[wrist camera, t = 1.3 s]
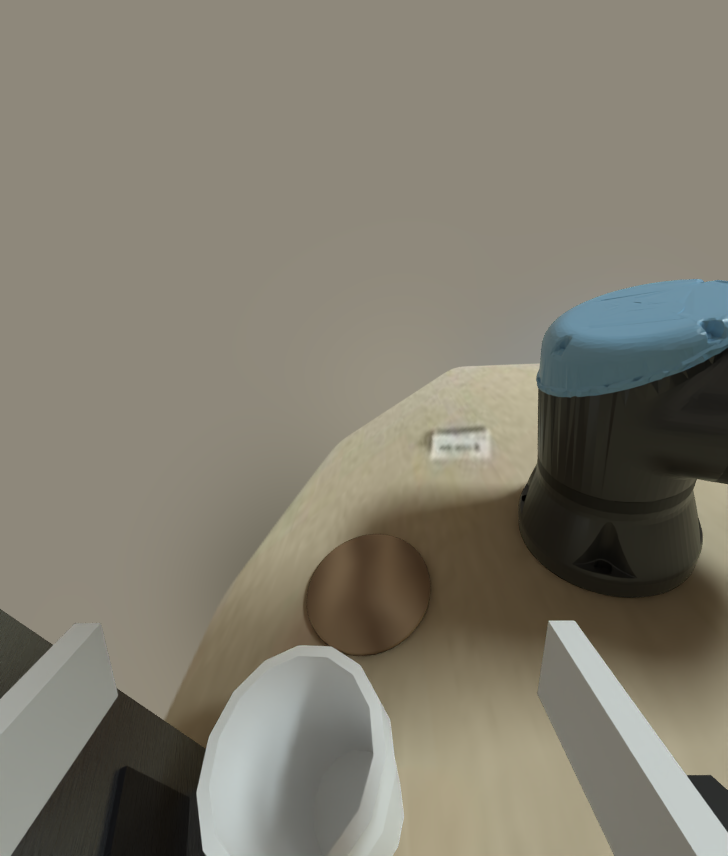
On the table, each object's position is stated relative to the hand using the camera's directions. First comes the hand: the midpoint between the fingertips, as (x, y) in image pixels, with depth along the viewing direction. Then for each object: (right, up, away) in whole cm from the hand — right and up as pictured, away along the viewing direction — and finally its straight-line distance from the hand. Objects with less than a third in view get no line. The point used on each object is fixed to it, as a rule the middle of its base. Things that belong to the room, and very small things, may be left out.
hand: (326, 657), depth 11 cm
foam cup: (+1, -19, +14) cm, 24 cm away
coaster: (+2, -10, +27) cm, 29 cm away
